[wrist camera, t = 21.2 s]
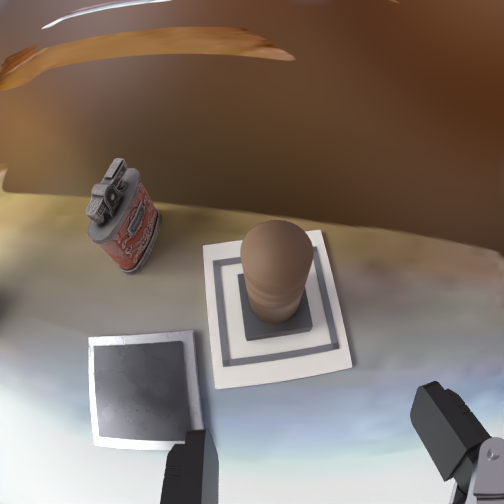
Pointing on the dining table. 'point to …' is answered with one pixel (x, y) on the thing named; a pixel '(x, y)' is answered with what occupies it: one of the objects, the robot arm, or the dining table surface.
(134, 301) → the dining table surface
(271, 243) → the stamp
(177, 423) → the ink pad
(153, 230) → the lighter
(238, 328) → the marked board
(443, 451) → the robot arm
